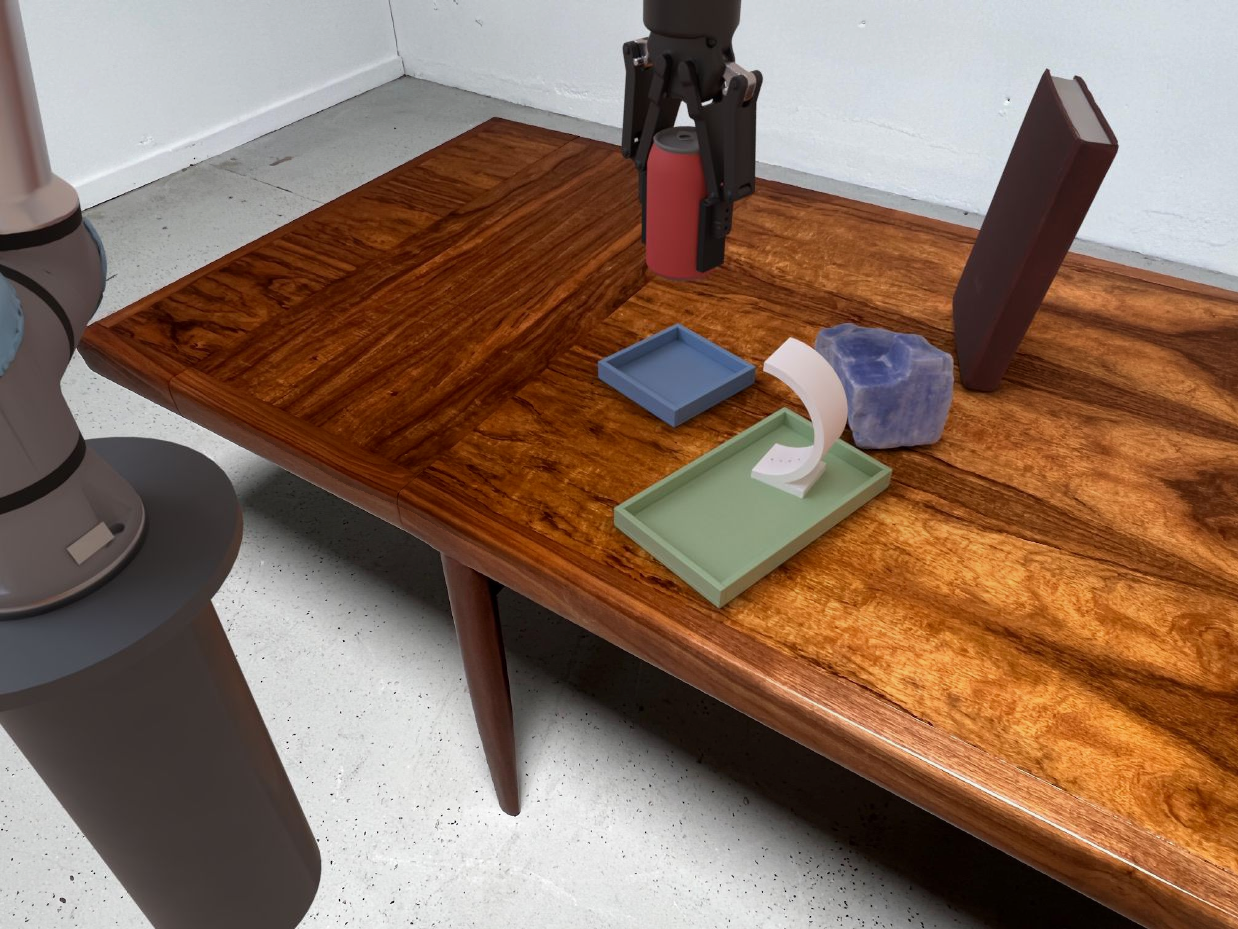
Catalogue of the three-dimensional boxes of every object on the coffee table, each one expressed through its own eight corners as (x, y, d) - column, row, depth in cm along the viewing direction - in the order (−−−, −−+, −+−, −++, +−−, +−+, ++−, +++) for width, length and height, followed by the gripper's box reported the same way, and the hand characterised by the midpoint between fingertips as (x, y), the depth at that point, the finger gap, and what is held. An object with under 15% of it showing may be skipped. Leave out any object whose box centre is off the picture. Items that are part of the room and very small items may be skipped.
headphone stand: (774, 450, 83) (790, 336, 75) (836, 475, 80) (859, 359, 72) (750, 477, 80) (763, 362, 72) (813, 503, 77) (834, 386, 69)
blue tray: (674, 428, 86) (674, 411, 85) (598, 377, 92) (597, 361, 91) (754, 383, 92) (756, 366, 90) (677, 338, 98) (678, 322, 97)
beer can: (707, 247, 87) (714, 120, 79) (725, 280, 82) (735, 148, 74) (639, 253, 86) (640, 126, 78) (653, 287, 81) (656, 154, 73)
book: (1125, 149, 72) (1070, 138, 72) (999, 396, 90) (955, 387, 90) (1090, 73, 84) (1043, 65, 84) (985, 305, 102) (946, 297, 102)
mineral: (981, 354, 79) (878, 366, 76) (956, 448, 84) (859, 461, 81) (895, 293, 90) (803, 301, 88) (878, 378, 96) (791, 388, 93)
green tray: (719, 609, 69) (721, 591, 67) (613, 525, 76) (613, 507, 74) (888, 486, 79) (893, 469, 78) (782, 423, 86) (784, 406, 85)
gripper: (827, -14, 64) (790, 278, 79) (642, -55, 76) (640, 207, 91) (756, 4, 61) (731, 307, 75) (572, -42, 72) (582, 229, 87)
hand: (681, 252), depth 83 cm, fingers closed on beer can, 6 cm apart
